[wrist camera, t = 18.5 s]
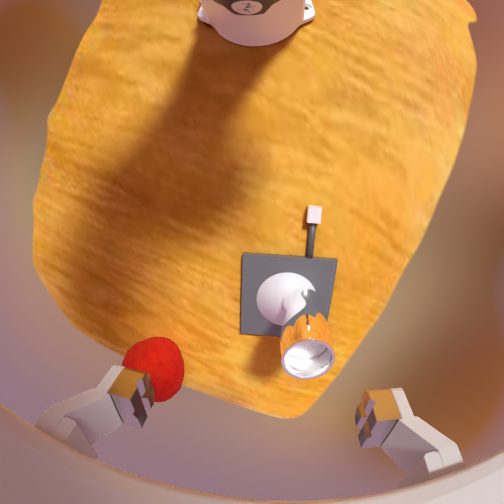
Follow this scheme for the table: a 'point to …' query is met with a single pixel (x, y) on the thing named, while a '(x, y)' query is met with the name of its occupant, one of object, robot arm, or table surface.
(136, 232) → the table surface
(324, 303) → the charging dock
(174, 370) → the apple
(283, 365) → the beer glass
